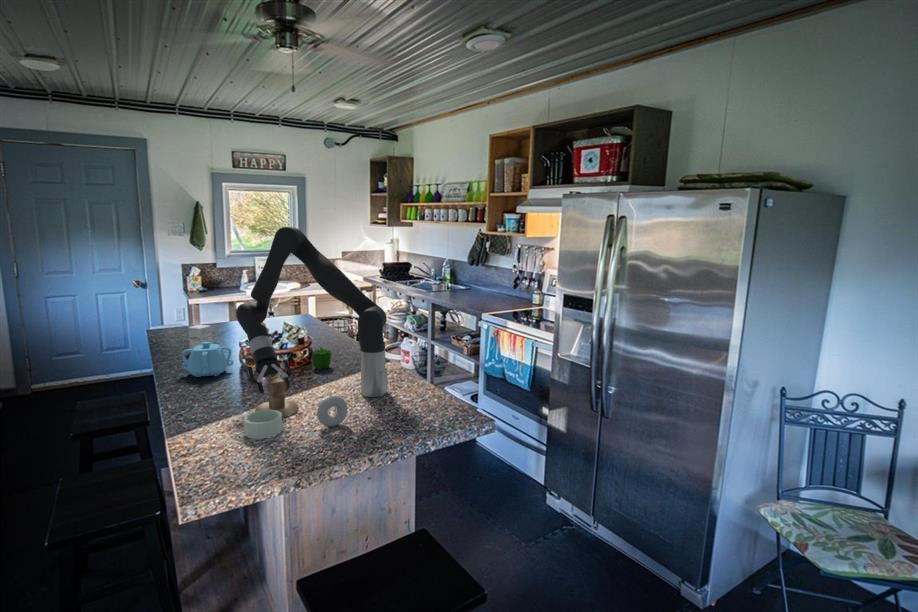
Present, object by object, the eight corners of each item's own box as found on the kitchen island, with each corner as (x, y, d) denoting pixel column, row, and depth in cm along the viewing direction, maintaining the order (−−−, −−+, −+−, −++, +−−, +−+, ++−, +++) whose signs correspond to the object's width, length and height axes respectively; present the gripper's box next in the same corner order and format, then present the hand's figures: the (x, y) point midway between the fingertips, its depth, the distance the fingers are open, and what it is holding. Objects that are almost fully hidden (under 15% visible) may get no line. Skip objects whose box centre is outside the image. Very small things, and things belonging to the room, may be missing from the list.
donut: (345, 420, 167) (344, 392, 165) (349, 424, 164) (349, 395, 163) (315, 427, 162) (314, 397, 160) (319, 431, 159) (318, 401, 157)
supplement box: (189, 352, 241) (187, 327, 239) (201, 349, 248) (199, 323, 246) (202, 354, 239) (200, 328, 237) (213, 350, 246) (212, 325, 244)
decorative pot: (178, 375, 209) (175, 343, 206) (214, 365, 223) (211, 335, 220) (201, 382, 201) (198, 349, 198) (237, 372, 214) (235, 341, 212)
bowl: (289, 426, 162) (288, 411, 161) (270, 440, 152) (269, 425, 151) (258, 422, 164) (257, 408, 163) (237, 437, 154) (236, 421, 153)
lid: (288, 400, 184) (287, 371, 182) (304, 412, 174) (304, 382, 172) (249, 409, 175) (247, 378, 173) (263, 422, 165) (262, 390, 163)
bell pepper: (328, 371, 218) (328, 348, 216) (309, 370, 218) (308, 348, 216) (333, 365, 226) (333, 343, 224) (315, 364, 226) (314, 343, 224)
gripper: (243, 348, 173) (256, 390, 167) (285, 342, 182) (298, 381, 176) (240, 360, 179) (252, 400, 172) (280, 353, 187) (293, 392, 181)
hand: (275, 391), depth 174 cm, fingers open, 8 cm apart
